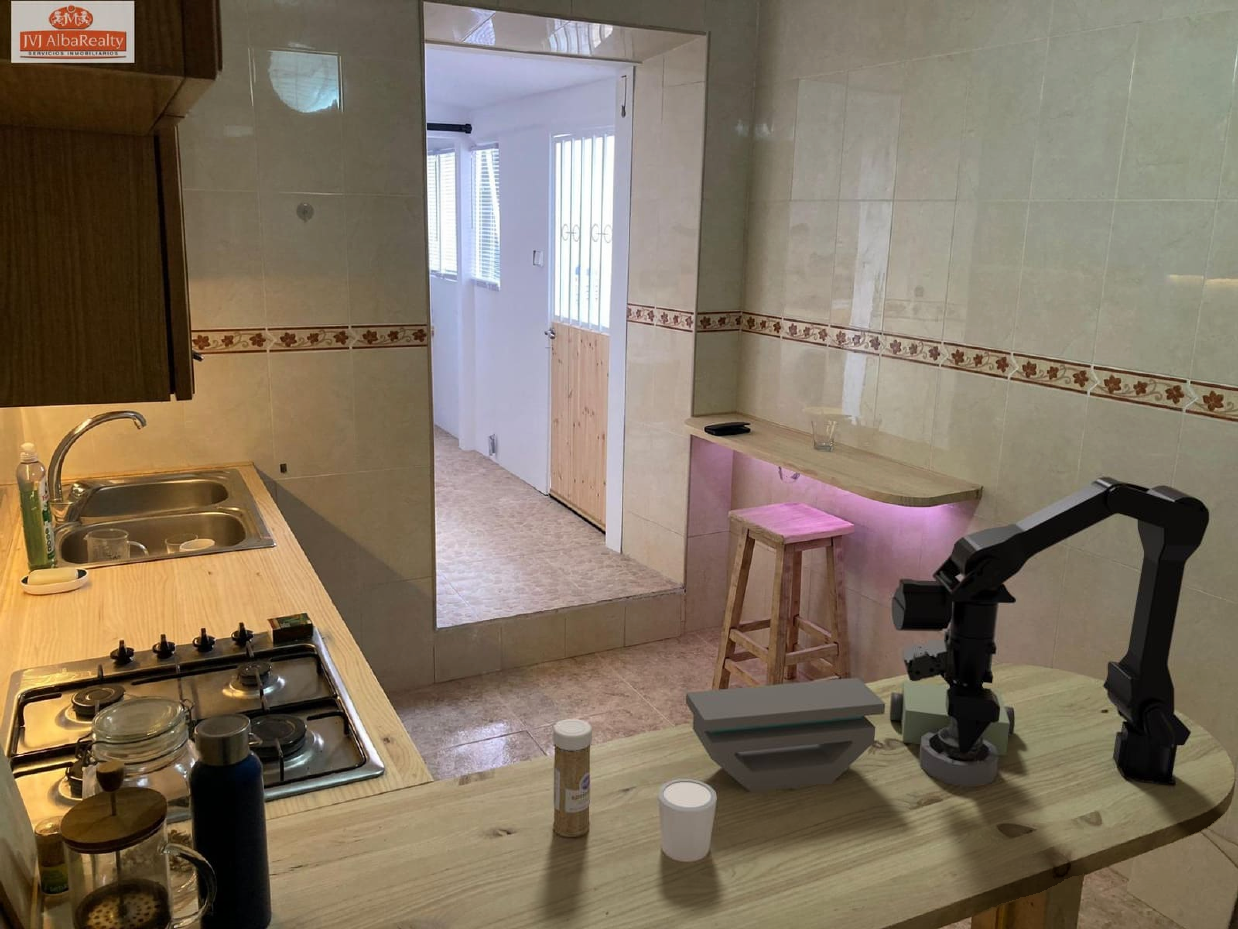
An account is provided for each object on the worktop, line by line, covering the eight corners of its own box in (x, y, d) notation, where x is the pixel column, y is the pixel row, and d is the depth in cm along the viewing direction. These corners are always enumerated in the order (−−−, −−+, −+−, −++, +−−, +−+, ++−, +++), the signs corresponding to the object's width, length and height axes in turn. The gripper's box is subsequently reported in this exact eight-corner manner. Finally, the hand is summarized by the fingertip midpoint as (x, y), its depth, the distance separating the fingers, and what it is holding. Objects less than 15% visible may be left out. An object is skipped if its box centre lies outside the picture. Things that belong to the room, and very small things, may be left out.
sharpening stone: (852, 748, 137) (857, 677, 135) (878, 777, 130) (885, 703, 127) (683, 766, 131) (686, 692, 129) (700, 797, 124) (704, 720, 122)
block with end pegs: (1007, 724, 145) (1011, 693, 144) (1029, 795, 126) (1033, 760, 125) (889, 709, 149) (892, 679, 148) (893, 776, 130) (896, 742, 129)
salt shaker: (990, 765, 131) (999, 684, 129) (960, 776, 129) (968, 693, 126) (956, 746, 136) (964, 667, 134) (926, 756, 134) (934, 676, 131)
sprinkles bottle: (582, 842, 114) (584, 739, 111) (546, 834, 115) (547, 732, 112) (595, 821, 118) (597, 720, 115) (560, 813, 120) (561, 714, 117)
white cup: (697, 872, 109) (699, 817, 108) (645, 852, 113) (647, 798, 111) (724, 842, 115) (726, 789, 113) (673, 823, 118) (675, 771, 117)
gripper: (906, 600, 139) (897, 699, 142) (912, 651, 121) (902, 763, 125) (988, 608, 136) (976, 709, 140) (1006, 662, 119) (993, 776, 122)
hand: (960, 737), depth 132 cm, fingers closed on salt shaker, 8 cm apart
